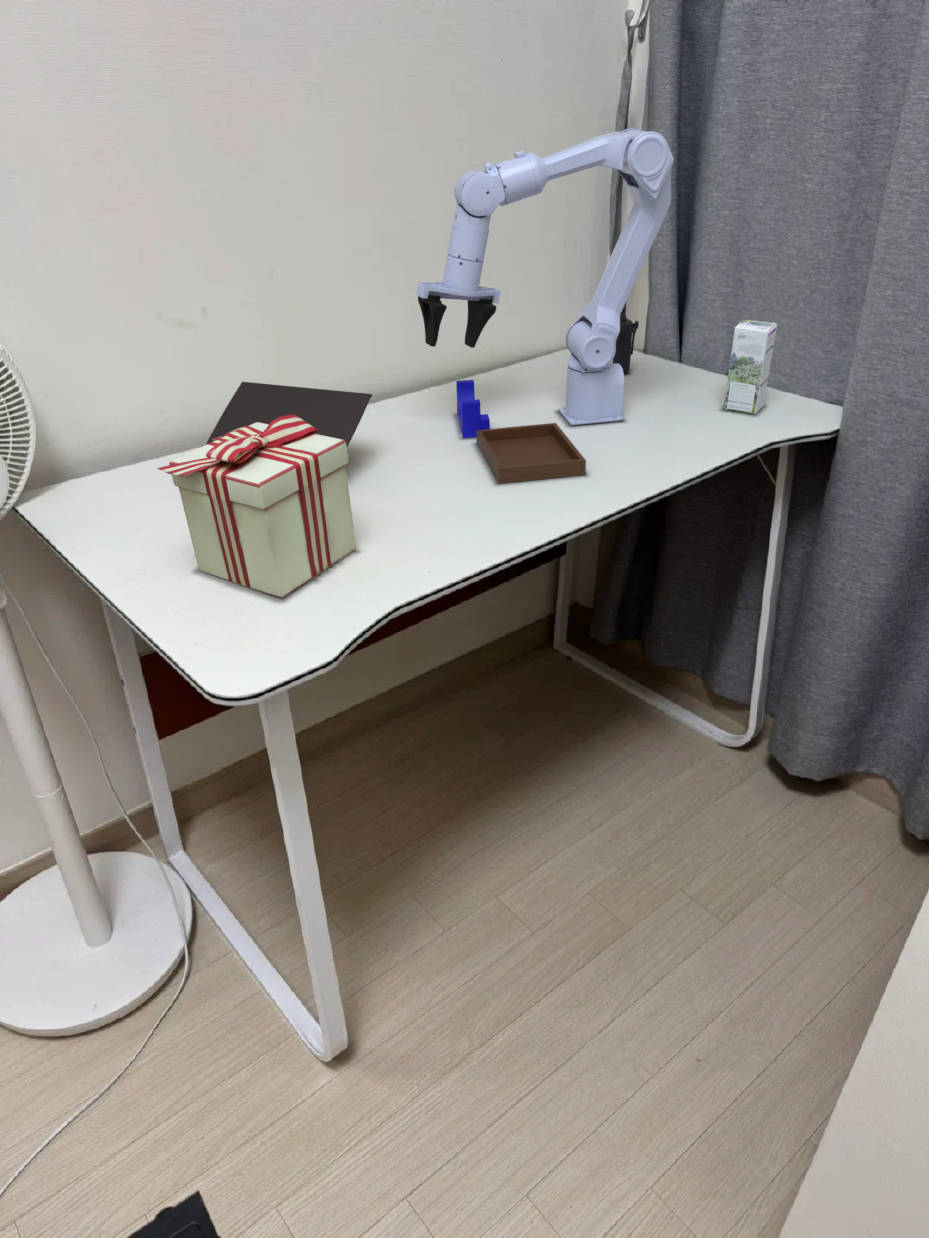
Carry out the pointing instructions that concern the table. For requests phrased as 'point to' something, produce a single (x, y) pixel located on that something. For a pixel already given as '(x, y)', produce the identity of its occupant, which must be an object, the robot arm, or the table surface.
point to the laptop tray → (294, 409)
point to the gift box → (267, 504)
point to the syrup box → (749, 366)
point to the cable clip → (469, 410)
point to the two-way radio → (625, 341)
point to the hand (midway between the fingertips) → (450, 345)
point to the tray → (529, 453)
